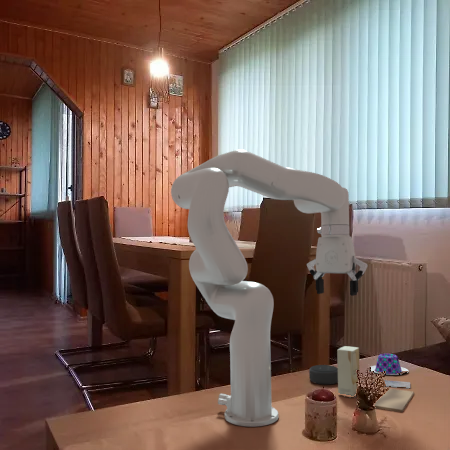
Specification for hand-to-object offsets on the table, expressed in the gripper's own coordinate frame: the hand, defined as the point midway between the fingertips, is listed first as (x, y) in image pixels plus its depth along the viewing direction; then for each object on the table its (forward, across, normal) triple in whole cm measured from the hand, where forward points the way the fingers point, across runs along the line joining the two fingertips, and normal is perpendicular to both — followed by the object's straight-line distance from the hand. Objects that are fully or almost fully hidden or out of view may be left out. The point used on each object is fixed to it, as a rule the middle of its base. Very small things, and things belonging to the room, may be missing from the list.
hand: (336, 294), depth 130 cm
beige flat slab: (+26, +12, +2) cm, 29 cm away
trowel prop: (+26, +6, +15) cm, 31 cm away
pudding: (+27, +4, +30) cm, 40 cm away
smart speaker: (+27, -8, +8) cm, 29 cm away
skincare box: (+27, +3, 0) cm, 27 cm away
